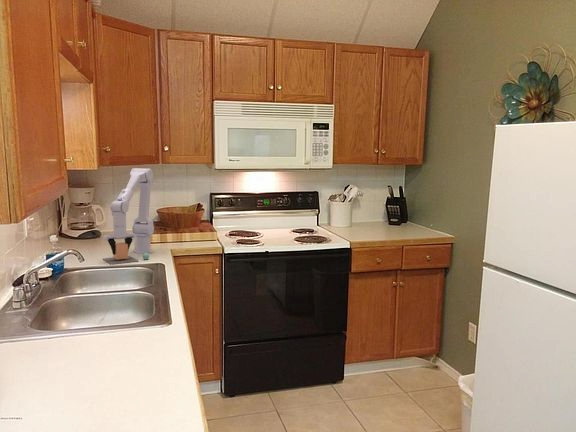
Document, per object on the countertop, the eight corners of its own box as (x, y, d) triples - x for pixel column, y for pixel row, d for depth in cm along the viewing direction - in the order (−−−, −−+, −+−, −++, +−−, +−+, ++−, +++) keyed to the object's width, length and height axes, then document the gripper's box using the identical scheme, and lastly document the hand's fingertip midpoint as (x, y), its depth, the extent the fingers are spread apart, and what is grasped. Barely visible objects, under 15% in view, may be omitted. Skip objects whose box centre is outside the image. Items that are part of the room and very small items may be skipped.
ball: (141, 259, 222) (141, 252, 222) (148, 258, 224) (147, 252, 224) (143, 260, 220) (143, 254, 219) (150, 259, 222) (150, 253, 221)
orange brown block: (113, 257, 219) (112, 243, 218) (124, 256, 222) (124, 242, 221) (116, 259, 215) (116, 245, 214) (128, 258, 218) (127, 244, 217)
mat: (102, 259, 220) (102, 258, 220) (129, 256, 228) (129, 255, 228) (110, 264, 210) (110, 263, 209) (138, 261, 217) (138, 260, 217)
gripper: (106, 227, 209) (107, 256, 211) (137, 225, 218) (138, 253, 219) (102, 225, 215) (102, 254, 216) (133, 223, 223) (133, 251, 225)
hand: (120, 253), depth 218 cm, fingers closed on orange brown block, 5 cm apart
